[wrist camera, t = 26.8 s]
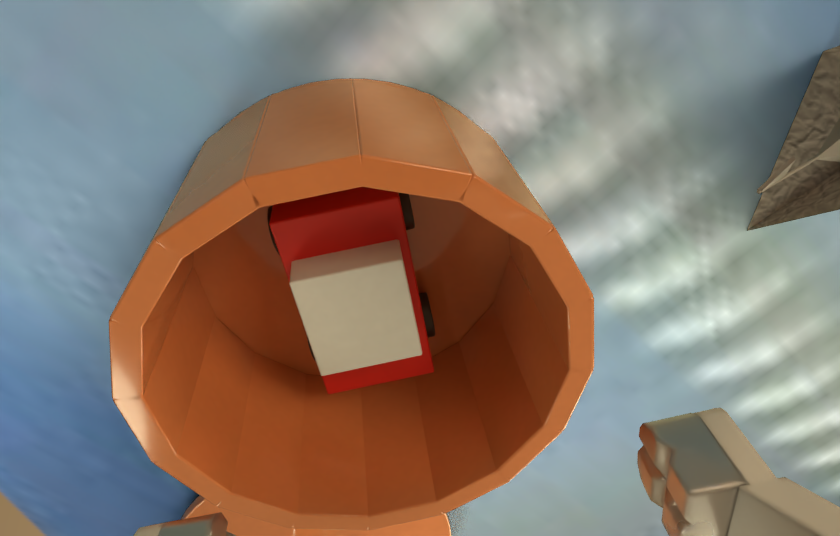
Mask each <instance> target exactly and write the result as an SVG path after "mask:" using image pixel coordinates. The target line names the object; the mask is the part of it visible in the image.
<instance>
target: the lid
mask: <svg viewBox="0 0 840 536" xmlns="http://www.w3.org/2000/svg"><path fill="white" fill-rule="evenodd" d="M219 512H222V514H223V515H224V517H225V518H226V520H227V521H228V525H227V532H229V533H232V534H234V535H236V536H451V529H450V522H449V517H448V515H447V513H446V514H442V515H439V516H434V517H429V518H425V519H420V520H416V521H411V522H406V523H402V524H397V525H392V526H388V527H383V528H379V529H374V530H369V529H368V530H331V529H296V528H286V527H283V526H280V525H276V524H273V523H270V522H266V521H263V520H259V519H256V518H253V517H249V516H246V515H243V514H239V513H236V512H233V511H229V510H226V509H222V508H219V507H217V506H216V505H213V504H212V503H210V502H209V501H207V500H206V499H205V498H203V497H202V496H198V497H197V498H196V499H195V501H194V502H193V503H192V504H191V505H190V506H189V507H188V508H187V510H186V511H185V513H184V515H183V516H182V518H181V519H180V520H182V519H187V518H192V517H198V516H203V515H208V514H214V513H219Z"/></svg>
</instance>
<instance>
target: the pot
mask: <svg viewBox="0 0 840 536" xmlns="http://www.w3.org/2000/svg"><path fill="white" fill-rule="evenodd" d="M358 187H368V188H374V189H380V190H387V191H393V192H399V193H405V194H409V197H410V202H411V207H412V212H413V217H414V223H415V228H413V229H410V230H406V232H407V237H408V242H409V247H410V251H411V256H412V261H413V266H414V271H415V276H416V281H417V286H418V291H419V294H420V293H427V295H428V299H429V303H430V307H431V312H432V317H433V322H434V327H435V333H436V334H435V336H434V337H429V338H428V341H429V346H430V351H431V356H432V361H433V366H434V372H433V373H428V374H423V375H419V376H414V377H409V378H405V379H400V380H395V381H390V382H386V383H381V384H376V385H371V386H367V387H362V388H357V389H353V390H348V391H343V392H338V393H334V394H328V393H327V391H326V388H325V385H324V382H323V379H322V376H321V374H320V371H319V369H318V366H317V363H316V361H315V360H314V359H313V357H312V355H311V352H310V349H309V345H308V340H307V334H306V331H305V328H304V325H303V322H302V319H301V316H300V314H299V311H298V308H297V305H296V302H295V299H294V296H293V293H292V290H291V287H290V285H289V281H288V278H287V275H286V272H285V269H284V266H283V263H282V260H281V257H280V255H279V254H278V253H277V251H276V249H275V247H274V245H273V242H272V239H271V236H270V231H269V226H268V219H267V212H268V208H269V207H270V206H272V205H275V204H280V203H284V202H289V201H294V200H299V199H304V198H309V197H314V196H319V195H324V194H328V193H333V192H338V191H343V190H348V189H353V188H358ZM109 339H110V362H111V386H112V398H113V401H114V403H115V404H116V406H117V408H118V409H119V411H120V412H121V414H122V416H123V417H124V419H125V420H126V422H127V423H128V425H129V427H130V428H131V430H132V431H133V433H134V435H135V436H136V438H137V439H138V441H139V443H140V444H141V446H142V447H143V449H144V451H145V452H146V454H147V455H148V457H149V459H150V460H151V462H154V464H155V465H157V466H158V467H160V468H161V469H162V470H164V471H165V472H167V473H168V474H170V475H171V476H173V477H174V478H176V479H177V480H178V481H180V482H181V483H183V484H184V485H186V486H187V487H189V488H190V489H192V490H193V491H194V492H196V493H197V494H199V495H200V496H202V497H203V498H205V499H206V500H207V501H209V502H210V503H212V504H213V505H216V506H217V507H219V508H222V509H226V510H229V511H233V512H236V513H239V514H243V515H246V516H249V517H253V518H256V519H259V520H263V521H266V522H270V523H273V524H276V525H280V526H283V527H286V528H296V529H331V530H368V529H369V530H374V529H379V528H383V527H388V526H392V525H397V524H402V523H406V522H411V521H416V520H420V519H425V518H429V517H434V516H439V515H442V514H446V513H448V512H450V511H452V510H454V509H456V508H458V507H460V506H462V505H464V504H466V503H468V502H470V501H472V500H474V499H476V498H478V497H480V496H482V495H484V494H486V493H488V492H490V491H492V490H494V489H496V488H498V487H500V486H502V485H504V484H506V483H508V482H509V481H510V480H511V479H513V478H514V477H515V476H516V475H517V474H518V473H519V472H520V471H521V470H522V469H524V468H525V467H526V466H527V465H528V464H529V463H530V462H531V461H532V460H533V459H534V458H535V457H536V456H537V455H538V454H539V453H541V452H542V451H543V450H544V449H545V448H546V447H547V446H548V445H549V444H550V443H551V442H552V441H553V440H554V439H555V438H557V437H558V436H559V435H560V434H561V432H562V431H563V430H564V429H565V427H566V425H567V423H568V421H569V419H570V417H571V415H572V413H573V411H574V409H575V407H576V405H577V403H578V401H579V399H580V396H581V394H582V392H583V390H584V388H585V386H586V384H587V382H588V380H589V378H590V376H591V374H592V372H593V368H594V298H593V294H592V292H591V290H590V288H589V287H588V285H587V283H586V281H585V279H584V278H583V276H582V274H581V272H580V271H579V269H578V267H577V265H576V263H575V262H574V260H573V258H572V256H571V255H570V253H569V251H568V249H567V248H566V246H565V244H564V242H563V240H562V239H561V237H560V235H559V233H558V232H557V230H556V228H555V227H554V225H553V224H552V222H551V221H550V219H549V218H548V216H547V215H546V214H545V212H544V211H543V209H542V208H541V206H540V205H539V203H538V202H537V201H536V199H535V198H534V196H533V195H532V193H531V192H530V190H529V189H528V188H527V186H526V185H525V183H524V182H523V180H522V179H521V177H520V176H519V174H518V173H517V172H516V170H515V169H514V167H513V166H512V164H511V163H510V161H509V160H508V159H507V157H506V156H505V154H504V153H503V151H502V150H501V148H500V147H499V146H498V144H497V143H496V141H495V140H494V138H492V137H491V135H489V134H488V133H486V132H485V131H483V130H482V129H481V128H479V126H477V125H476V124H475V123H474V122H472V121H471V120H470V119H469V118H467V117H466V116H465V115H464V114H463V113H461V112H460V111H458V110H457V109H455V108H453V107H452V106H450V105H448V104H447V103H445V102H443V101H442V100H440V99H438V98H436V97H435V96H431V94H428V93H424V92H422V91H419V90H417V89H414V88H410V87H406V86H403V85H399V84H395V83H392V82H385V81H377V80H370V79H351V78H349V79H333V80H325V81H318V82H311V83H307V84H304V85H300V86H296V87H293V88H289V89H286V90H283V91H281V92H278V93H275V94H272V95H271V96H268V97H266V98H264V99H262V100H260V101H259V102H257V103H255V104H254V105H252V106H250V107H249V108H247V109H245V110H244V111H242V112H240V113H239V114H238V115H237V116H235V117H234V118H233V119H232V120H231V121H229V122H228V123H227V124H226V125H224V126H223V127H222V128H221V129H220V130H219V131H218V132H217V133H215V134H214V135H212V136H211V137H210V138H208V139H207V141H205V143H204V145H203V146H202V148H201V150H200V152H199V154H198V155H197V157H196V159H195V161H194V163H193V165H192V166H191V168H190V170H189V172H188V174H187V175H186V177H185V179H184V181H183V183H182V185H181V186H180V188H179V190H178V192H177V194H176V195H175V197H174V199H173V201H172V203H171V205H170V207H169V208H168V210H167V212H166V214H165V216H164V218H163V219H162V221H161V223H160V225H159V227H158V229H157V231H156V232H155V234H154V236H153V238H152V240H151V242H150V244H149V245H148V247H147V249H146V251H145V253H144V255H143V257H142V258H141V260H140V262H139V264H138V266H137V268H136V270H135V271H134V273H133V275H132V277H131V279H130V281H129V282H128V284H127V286H126V288H125V290H124V292H123V294H122V295H121V297H120V299H119V301H118V303H117V305H116V307H115V308H114V310H113V312H112V314H111V316H110V320H109Z"/></svg>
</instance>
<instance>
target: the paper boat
mask: <svg viewBox="0 0 840 536" xmlns="http://www.w3.org/2000/svg"><path fill="white" fill-rule="evenodd" d="M762 192H763V194H762V196H761V199H760V201H759V203H758V206H757V208H756V210H755V213H754V215H753V217H752V220H751V222H750V224H749V227H748V229H747V231H748V230H753V229H757V228H761V227H766V226H770V225H774V224H779V223H783V222H787V221H791V220H796V219H800V218H804V217H809V216H813V215H817V214H822V213H826V212H830V211H835V210H839V209H840V46H837V47H834V48H832V49H829V50H826V51H823V53H822V55H821V58H820V60H819V62H818V65H817V67H816V69H815V72H814V74H813V76H812V79H811V81H810V84H809V86H808V88H807V91H806V93H805V95H804V98H803V100H802V102H801V105H800V107H799V109H798V112H797V114H796V116H795V119H794V121H793V123H792V126H791V128H790V131H789V133H788V135H787V138H786V140H785V142H784V145H783V147H782V149H781V152H780V154H779V156H778V159H777V161H776V163H775V166H774V168H773V170H772V173H771V175H770V177H769V179H768V180H767V181H766V182H765V183H764V184H763V185H762V186H761V187H759V188H758V189H757V193H758V194H760V193H762Z"/></svg>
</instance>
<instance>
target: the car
mask: <svg viewBox="0 0 840 536" xmlns="http://www.w3.org/2000/svg"><path fill="white" fill-rule="evenodd" d="M267 219H268V226H269V231H270V236H271V239H272V242H273V245H274V247H275V249H276V251H277V253H278V254H279V255H280V257H281V260H282V263H283V266H284V269H285V272H286V275H287V278H288V281H289V285H290V287H291V290H292V293H293V296H294V299H295V302H296V305H297V308H298V311H299V314H300V316H301V319H302V322H303V325H304V328H305V331H306V334H307V340H308V345H309V349H310V352H311V355H312V357H313V359H314V360H315V361H316V363H317V366H318V369H319V371H320V374H321V376H322V379H323V382H324V385H325V388H326V391H327V393H328V394H334V393H338V392H343V391H348V390H353V389H357V388H362V387H367V386H371V385H376V384H381V383H386V382H390V381H395V380H400V379H405V378H409V377H414V376H419V375H423V374H428V373H433V372H434V366H433V361H432V356H431V351H430V346H429V341H428V338H429V337H434V336H435V334H436V333H435V327H434V322H433V317H432V312H431V307H430V303H429V299H428V295H427V293H420V294H419V291H418V286H417V281H416V276H415V271H414V266H413V261H412V256H411V251H410V247H409V242H408V237H407V232H406V230H410V229H413V228H415V223H414V217H413V212H412V207H411V202H410V197H409V194H405V193H399V192H393V191H387V190H380V189H374V188H368V187H358V188H353V189H348V190H343V191H338V192H333V193H328V194H324V195H319V196H314V197H309V198H304V199H299V200H294V201H289V202H284V203H280V204H275V205H272V206H270V207H269V208H268V212H267Z"/></svg>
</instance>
